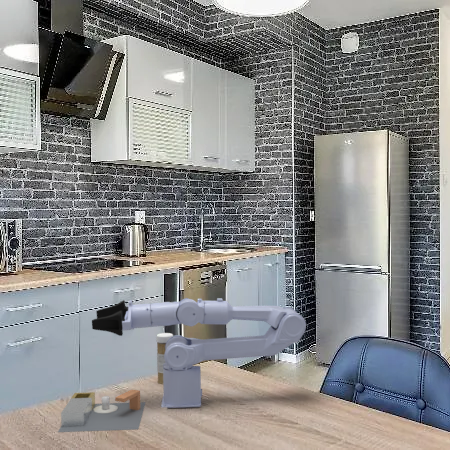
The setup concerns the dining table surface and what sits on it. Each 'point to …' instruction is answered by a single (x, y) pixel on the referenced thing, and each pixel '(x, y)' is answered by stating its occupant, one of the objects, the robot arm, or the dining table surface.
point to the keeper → (130, 398)
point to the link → (78, 409)
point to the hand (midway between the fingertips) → (94, 319)
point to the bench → (110, 417)
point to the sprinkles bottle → (161, 353)
